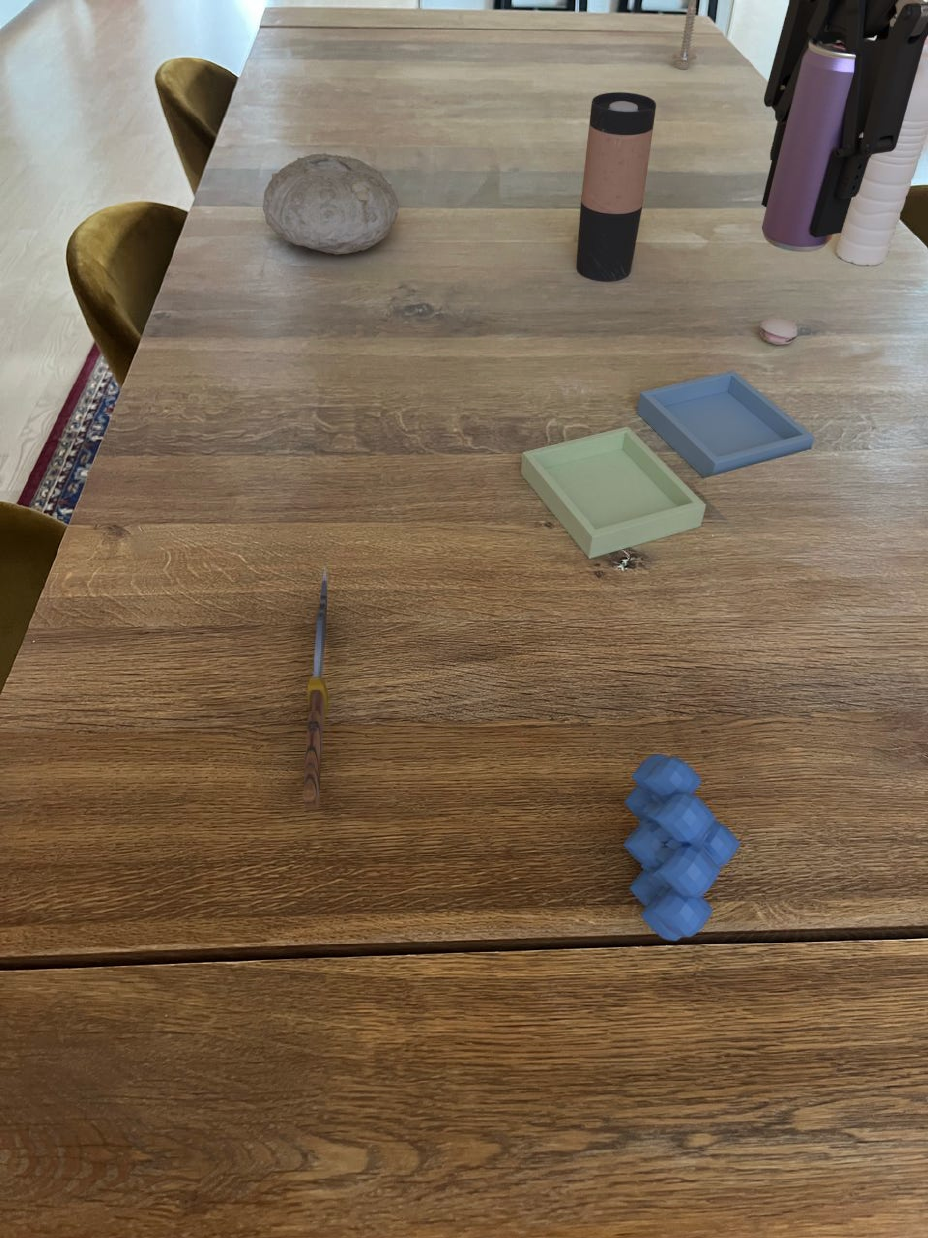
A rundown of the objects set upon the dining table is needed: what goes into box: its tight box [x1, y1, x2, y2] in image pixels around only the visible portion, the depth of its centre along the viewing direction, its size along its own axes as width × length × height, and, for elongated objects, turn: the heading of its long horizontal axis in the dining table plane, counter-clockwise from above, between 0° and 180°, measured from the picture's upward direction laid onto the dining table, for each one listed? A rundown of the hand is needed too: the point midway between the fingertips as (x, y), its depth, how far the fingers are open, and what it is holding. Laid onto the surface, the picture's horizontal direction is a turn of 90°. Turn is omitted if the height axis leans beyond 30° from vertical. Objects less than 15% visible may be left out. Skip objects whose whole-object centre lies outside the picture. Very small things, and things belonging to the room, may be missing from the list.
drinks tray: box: [636, 369, 815, 479], centre depth 95 cm, size 14×12×2 cm
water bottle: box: [835, 43, 928, 267], centre depth 117 cm, size 9×6×25 cm
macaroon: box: [759, 317, 799, 346], centre depth 110 cm, size 4×5×2 cm
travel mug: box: [576, 91, 657, 282], centre depth 116 cm, size 8×8×20 cm
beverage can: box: [761, 38, 875, 253], centre depth 77 cm, size 6×6×15 cm
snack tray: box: [520, 426, 707, 560], centre depth 87 cm, size 14×12×2 cm
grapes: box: [623, 752, 741, 942], centre depth 55 cm, size 12×7×12 cm, turn 1°
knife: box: [302, 567, 329, 811], centre depth 69 cm, size 25×1×5 cm, turn 4°
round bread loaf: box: [262, 152, 399, 256], centre depth 124 cm, size 18×18×10 cm
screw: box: [671, 0, 697, 70], centre depth 185 cm, size 13×5×5 cm
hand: (800, 217), depth 81 cm, fingers closed on beverage can, 6 cm apart
